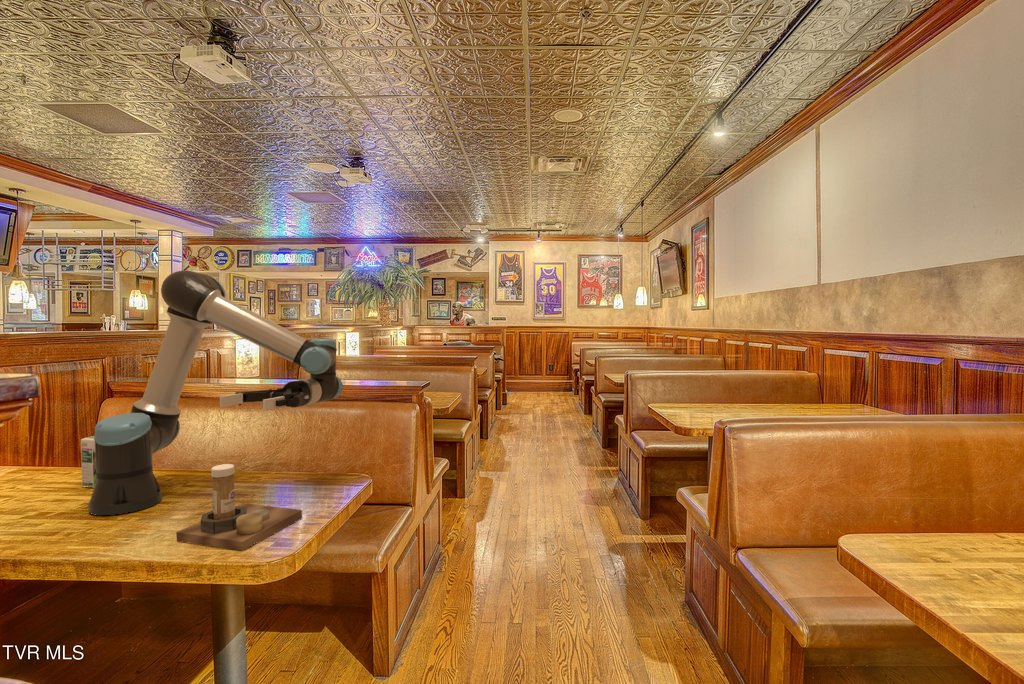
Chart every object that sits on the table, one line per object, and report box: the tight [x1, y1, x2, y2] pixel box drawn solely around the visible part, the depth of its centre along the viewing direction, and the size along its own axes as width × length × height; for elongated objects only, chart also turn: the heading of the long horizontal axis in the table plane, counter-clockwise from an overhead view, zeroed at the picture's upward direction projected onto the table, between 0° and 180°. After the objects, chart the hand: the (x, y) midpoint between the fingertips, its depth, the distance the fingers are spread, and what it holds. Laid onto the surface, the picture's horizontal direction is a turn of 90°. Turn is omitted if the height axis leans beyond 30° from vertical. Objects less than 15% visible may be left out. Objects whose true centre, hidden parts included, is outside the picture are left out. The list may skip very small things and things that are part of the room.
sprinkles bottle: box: [210, 463, 236, 520], centre depth 112 cm, size 5×5×14 cm
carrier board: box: [175, 502, 303, 552], centre depth 114 cm, size 18×18×5 cm
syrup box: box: [80, 435, 97, 487], centre depth 146 cm, size 6×6×14 cm
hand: (242, 403), depth 124 cm, fingers open, 13 cm apart
